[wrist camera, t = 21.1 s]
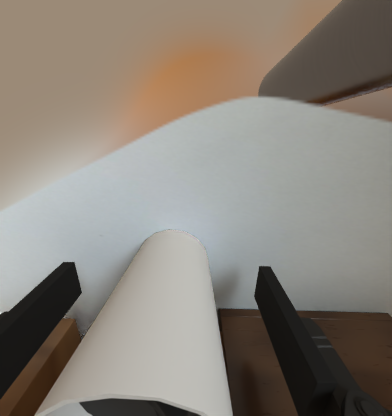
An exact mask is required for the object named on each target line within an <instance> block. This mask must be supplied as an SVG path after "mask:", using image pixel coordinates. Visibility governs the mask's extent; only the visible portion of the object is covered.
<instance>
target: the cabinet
mask: <svg viewBox="0 0 392 416" xmlns="http://www.w3.org/2000/svg"><path fill="white" fill-rule="evenodd" d="M296 312H297V313H298V315H299V317H308V318H311V319H312V320H313V321H314V322H315V323H316V324H317V325H318V326H320V328H321V329H322V331H323V332H324V334H325V335H326V337H327V339H328V340H329V341H330V343H331V345H332V347H333V348H334V349H335V351H336V352H337V354H338V355H339V357H340V358H341V360H342V361H343V363H344V364H345V366H346V367H347V369H348V370H349V372H350V373H351V375H352V376H353V378H354V379H355V381H356V382H357V384H358V385H359V386H360V388H361V389H362V390H363V391H364V392H366V393H368V394H369V395H370V396H372V397H373V398H374V399H376V400H377V401H378V402H379V403H380V405H381V406H382V407H383V408H385V409H388V410H390V411H392V317H391V316H390V315H389V314H388V313H362V312H324V311H296ZM218 324H219V331H221V334H222V342H223V351H224V359H225V367H226V375H227V381H228V387H229V393H230V400H231V406H232V412H233V416H298V413H297V411H296V408H295V405H294V403H293V400H292V397H291V395H290V392H289V389H288V386H287V384H286V381H285V378H284V376H283V373H282V370H281V367H280V365H279V362H278V359H277V357H276V354H275V351H274V348H273V346H272V343H271V340H270V338H269V335H268V332H267V329H266V327H265V324H264V321H263V319H262V316H261V313H260V310H249V309H220V312H219V323H218Z"/></svg>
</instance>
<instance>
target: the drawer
mask: <svg viewBox="0 0 392 416" xmlns="http://www.w3.org/2000/svg"><path fill="white" fill-rule="evenodd" d="M87 332H88V331H87ZM220 337H221V343H222V349H223V342H222V334H221V331H220ZM80 343H81V338H80V334H79V331H78V327H77V324H76V320H75V319H68V318H63V319H61V321H60V322H59V323H58V325H57V326H56V327H55V329H54V330H53V331H52V333H51V334H50V335H49V336H48V338H47V339H46V340H45V342H44V343H43V344H42V346H41V347H40V348H39V350H38V351H37V352H36V354H35V355H34V356H33V358H32V359H31V360H30V361H29V363H28V364H27V365H26V367H25V368H24V369H23V371H22V372H21V373H20V375H19V376H18V377H17V379H16V380H15V381H14V382H13V384H12V385H11V386H10V388H9V389H8V390H7V392H6V393H5V394H4V396H3V397H2V398H1V400H0V416H34V415H35V414H36V412H37V410H38V409H39V407H40V406H41V404H42V403H43V401H44V399H45V398H46V396H47V395H48V393H49V392H50V390H51V388H52V387H53V385H54V384H55V382H56V380H57V379H58V377H59V376H60V374H61V373H62V371H63V369H64V368H65V366H66V365H67V363H68V362H69V360H70V358H71V357H72V355H73V354H74V352H75V350H76V349H77V347H78V346H79V344H80ZM223 356H224V351H223ZM224 362H225V359H224ZM225 368H226V367H225Z"/></svg>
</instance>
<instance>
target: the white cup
mask: <svg viewBox="0 0 392 416" xmlns="http://www.w3.org/2000/svg"><path fill="white" fill-rule="evenodd" d="M34 416H233V412H232V406H231V400H230V393H229V387H228V381H227V375H226V368H225V362H224V356H223V349H222V343H221V337H220V331H219V324H218V318H217V312H216V305H215V299H214V293H213V287H212V280H211V274H210V268H209V261H208V256H207V253H206V250H205V247H204V246H203V245H202V244H201V242H200V241H199V240H198V239H197V238H196V237H194V236H192V235H190V234H188V233H186V232H184V231H179V230H170V229H169V230H165V231H161V232H156V233H155V234H153V235H152V236H150V237H149V238H148V239H146V240H145V241H144V243H143V245H142V246H141V248H140V249H139V251H138V253H137V254H136V256H135V257H134V259H133V260H132V262H131V264H130V265H129V267H128V268H127V270H126V271H125V273H124V275H123V276H122V278H121V279H120V281H119V283H118V284H117V286H116V287H115V289H114V290H113V292H112V294H111V295H110V297H109V298H108V300H107V302H106V303H105V305H104V306H103V308H102V309H101V311H100V313H99V314H98V316H97V317H96V319H95V320H94V322H93V324H92V325H91V327H90V328H89V330H88V332H87V333H86V335H85V336H84V338H83V339H82V341H81V343H80V344H79V346H78V347H77V349H76V350H75V352H74V354H73V355H72V357H71V358H70V360H69V362H68V363H67V365H66V366H65V368H64V369H63V371H62V373H61V374H60V376H59V377H58V379H57V380H56V382H55V384H54V385H53V387H52V388H51V390H50V392H49V393H48V395H47V396H46V398H45V399H44V401H43V403H42V404H41V406H40V407H39V409H38V410H37V412H36V414H35V415H34Z"/></svg>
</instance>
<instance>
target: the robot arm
mask: <svg viewBox="0 0 392 416" xmlns="http://www.w3.org/2000/svg"><path fill="white" fill-rule="evenodd" d="M81 293H82V291H81V287H80V283H79V279H78V275H77V271H76V267H75V263H74V262H63V263H62V264H61V265H60V266H59V267H58V268H56V269H55V270H54V271H53V272H52V273H51V274H50V275H49V276H48V277H46V278H45V279H44V280H43V281H42V282H41V283H40V284H39V285H38V286H37V287H35V288H34V289H33V290H32V291H31V292H30V293H29V294H28V295H27V296H25V297H24V298H23V299H22V300H21V301H20V302H19V303H18V304H17V305H16V306H14V307H13V308H12V309H11V310H10V311H9V312H3V313H2V314H0V400H1V398H2V397H3V396H4V394H5V393H6V392H7V390H8V389H9V388H10V386H11V385H12V384H13V382H14V381H15V380H16V379H17V377H18V376H19V375H20V373H21V372H22V371H23V369H24V368H25V367H26V365H27V364H28V363H29V361H30V360H31V359H32V358H33V356H34V355H35V354H36V352H37V351H38V350H39V348H40V347H41V346H42V344H43V343H44V342H45V340H46V339H47V338H48V336H49V335H50V334H51V333H52V331H53V330H54V329H55V327H56V326H57V325H58V323H59V322H60V321H61V319H62V318H63V317H64V315H65V314H66V313H67V312H68V310H69V309H70V308H71V306H72V305H73V304H74V302H75V301H76V300H77V298H78V297H79V296H80V294H81ZM254 297H255V300H256V302H257V305H258V308H259V310H260V313H261V316H262V319H263V321H264V324H265V327H266V329H267V332H268V335H269V338H270V340H271V343H272V346H273V348H274V351H275V354H276V357H277V359H278V362H279V365H280V367H281V370H282V373H283V376H284V378H285V381H286V384H287V386H288V389H289V392H290V395H291V397H292V400H293V403H294V405H295V408H296V411H297V413H298V416H392V411H390V410H388V409H385V408H383V407H382V406H381V405H380V403H379V402H378V401H377V400H376V399H374V398H373V397H372V396H370V395H369V394H368V393H366V392H364V391H363V390H362V389H361V388H360V386H359V385H358V384H357V382H356V381H355V379H354V378H353V376H352V375H351V373H350V372H349V370H348V369H347V367H346V366H345V364H344V363H343V361H342V360H341V358H340V357H339V355H338V354H337V352H336V351H335V349H334V348H333V347H332V345H331V343H330V341H329V340H328V339H327V337H326V335H325V334H324V332H323V331H322V329H321V328H320V326H318V325H317V324H316V323H315V322H314V321H313V320H312V319H311V318H308V317H299V315H298V313H297V312H296V310H295V308H294V307H293V305H292V303H291V301H290V300H289V298H288V296H287V295H286V293H285V291H284V289H283V288H282V286H281V284H280V283H279V281H278V279H277V277H276V276H275V274H274V272H273V271H272V269H271V267H268V266H259V272H258V277H257V283H256V289H255V295H254Z"/></svg>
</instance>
